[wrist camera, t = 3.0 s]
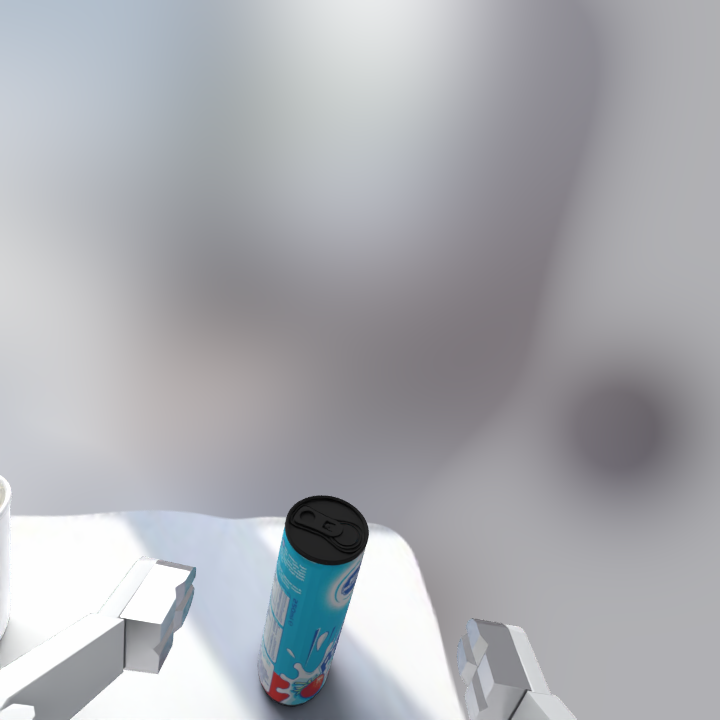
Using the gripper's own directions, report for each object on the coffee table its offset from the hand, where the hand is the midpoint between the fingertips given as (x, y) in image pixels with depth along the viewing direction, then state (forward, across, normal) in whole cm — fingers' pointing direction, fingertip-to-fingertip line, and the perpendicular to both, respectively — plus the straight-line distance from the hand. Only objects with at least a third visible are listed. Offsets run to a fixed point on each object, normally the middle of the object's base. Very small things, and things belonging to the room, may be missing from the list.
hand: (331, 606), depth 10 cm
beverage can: (+12, 0, +24) cm, 27 cm away
